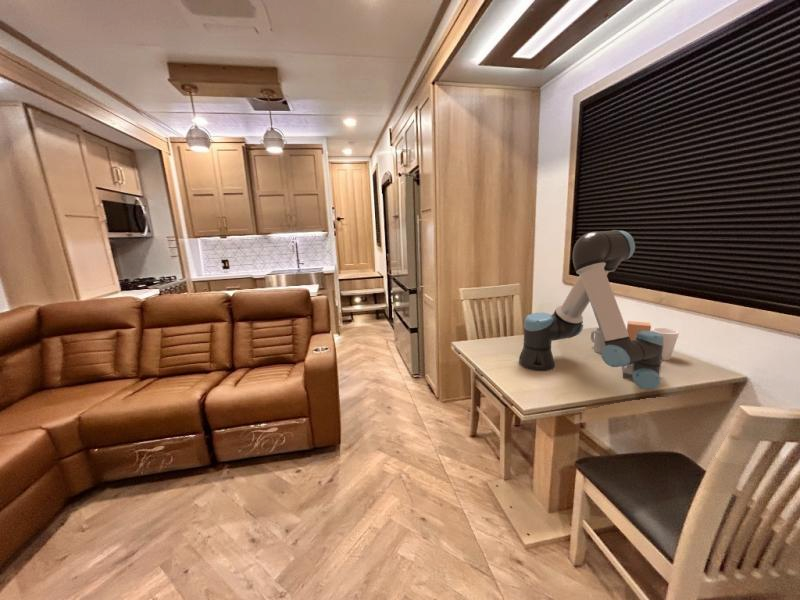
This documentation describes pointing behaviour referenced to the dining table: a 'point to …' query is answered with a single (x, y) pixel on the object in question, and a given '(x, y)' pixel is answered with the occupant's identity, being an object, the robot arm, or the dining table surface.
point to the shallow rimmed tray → (627, 371)
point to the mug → (597, 340)
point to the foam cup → (667, 341)
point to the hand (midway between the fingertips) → (639, 344)
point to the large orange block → (637, 328)
